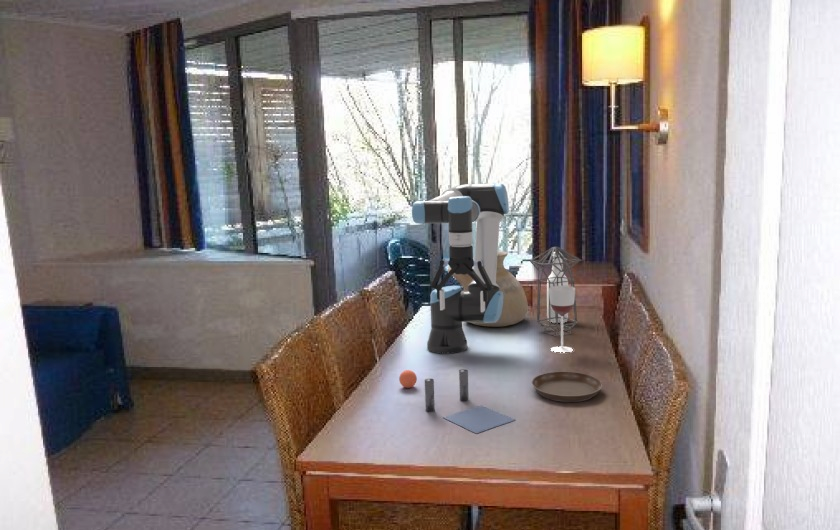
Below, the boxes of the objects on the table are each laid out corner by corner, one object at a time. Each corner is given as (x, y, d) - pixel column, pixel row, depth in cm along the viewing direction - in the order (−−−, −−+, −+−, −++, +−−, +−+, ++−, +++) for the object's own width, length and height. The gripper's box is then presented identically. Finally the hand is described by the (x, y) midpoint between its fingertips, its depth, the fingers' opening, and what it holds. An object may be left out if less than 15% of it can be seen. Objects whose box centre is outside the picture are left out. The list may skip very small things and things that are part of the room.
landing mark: (443, 418, 185) (443, 417, 185) (481, 405, 193) (481, 405, 193) (476, 433, 174) (476, 433, 174) (515, 420, 182) (515, 419, 182)
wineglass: (576, 346, 249) (576, 285, 245) (573, 354, 240) (573, 291, 236) (551, 345, 252) (551, 285, 248) (547, 352, 243) (547, 290, 239)
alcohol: (546, 318, 292) (546, 250, 287) (567, 318, 291) (567, 250, 286) (547, 323, 283) (547, 253, 279) (568, 323, 282) (568, 253, 277)
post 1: (423, 410, 192) (422, 379, 190) (431, 407, 193) (430, 377, 192) (429, 412, 190) (428, 382, 188) (436, 410, 191) (435, 380, 190)
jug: (532, 329, 276) (532, 257, 271) (450, 331, 276) (448, 259, 271) (523, 313, 304) (522, 247, 299) (448, 315, 305) (446, 250, 300)
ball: (396, 387, 212) (395, 370, 211) (410, 383, 215) (409, 366, 214) (406, 391, 207) (405, 374, 206) (420, 387, 210) (419, 370, 210)
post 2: (458, 399, 199) (457, 370, 197) (464, 397, 200) (464, 368, 199) (463, 402, 197) (462, 372, 195) (470, 400, 198) (469, 370, 197)
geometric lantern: (552, 340, 259) (549, 250, 254) (530, 332, 273) (527, 247, 268) (585, 334, 265) (584, 246, 260) (562, 326, 279) (560, 243, 274)
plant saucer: (598, 408, 189) (598, 397, 189) (525, 401, 197) (525, 390, 196) (604, 384, 208) (605, 374, 208) (538, 379, 216) (538, 369, 215)
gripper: (420, 246, 214) (422, 311, 217) (496, 247, 205) (497, 315, 208) (427, 243, 220) (429, 306, 224) (502, 244, 212) (503, 309, 215)
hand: (462, 310), depth 216 cm, fingers open, 13 cm apart
